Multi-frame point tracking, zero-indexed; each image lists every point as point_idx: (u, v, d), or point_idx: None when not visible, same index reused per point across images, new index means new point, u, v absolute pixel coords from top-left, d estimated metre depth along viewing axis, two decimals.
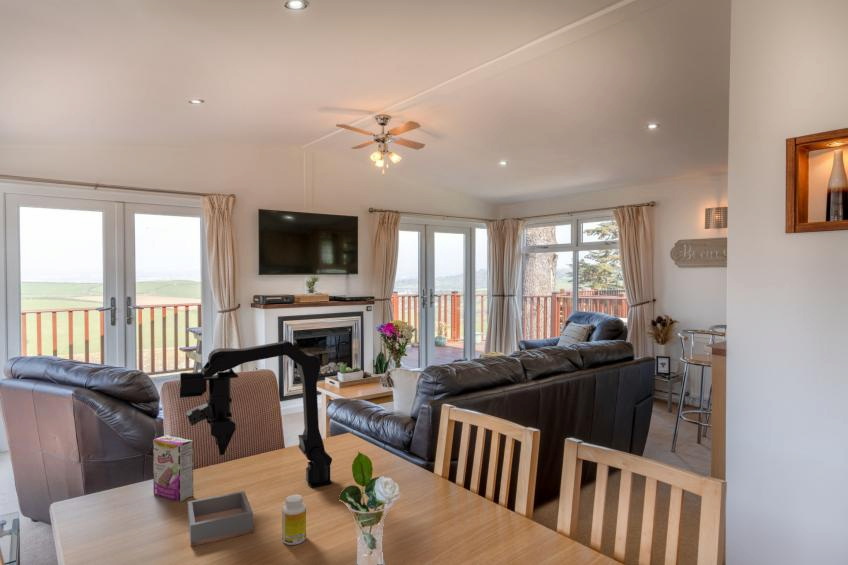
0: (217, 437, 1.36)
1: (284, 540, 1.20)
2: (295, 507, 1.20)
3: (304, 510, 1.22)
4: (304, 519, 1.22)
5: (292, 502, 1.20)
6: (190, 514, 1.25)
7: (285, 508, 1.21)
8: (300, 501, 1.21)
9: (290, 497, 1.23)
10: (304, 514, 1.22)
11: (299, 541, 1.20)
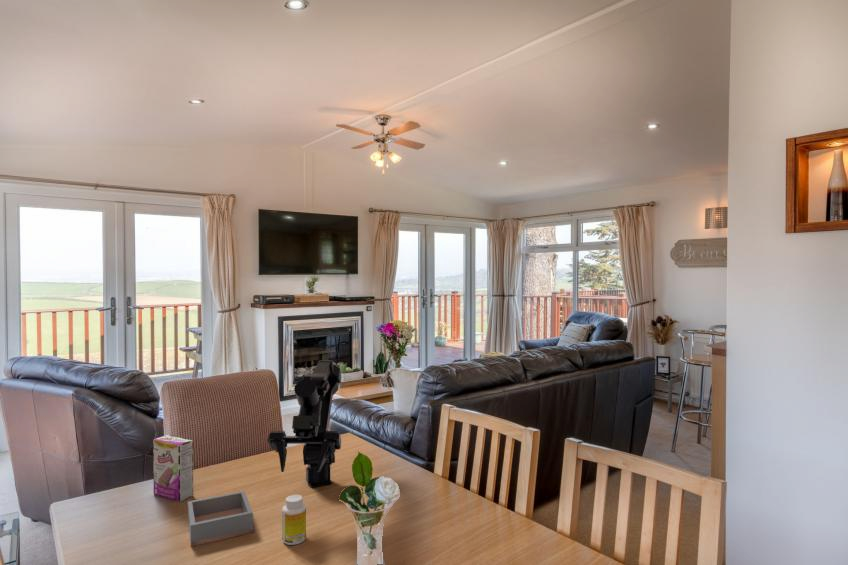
0: (327, 448, 1.33)
1: (284, 540, 1.20)
2: (295, 507, 1.20)
3: (304, 510, 1.22)
4: (304, 519, 1.22)
5: (292, 502, 1.20)
6: (190, 514, 1.25)
7: (285, 508, 1.21)
8: (300, 501, 1.21)
9: (290, 497, 1.23)
10: (304, 514, 1.22)
11: (299, 541, 1.20)
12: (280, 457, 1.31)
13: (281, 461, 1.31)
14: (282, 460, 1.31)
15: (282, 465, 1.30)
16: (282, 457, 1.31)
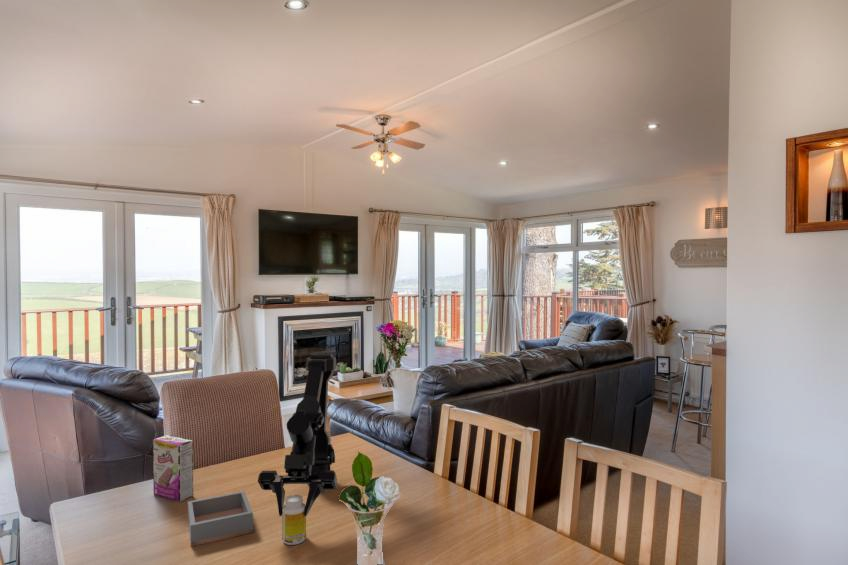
0: (315, 490, 1.24)
1: (284, 540, 1.20)
2: (295, 507, 1.20)
3: (304, 510, 1.22)
4: (304, 519, 1.22)
5: (292, 502, 1.20)
6: (190, 514, 1.25)
7: (285, 508, 1.21)
8: (300, 501, 1.21)
9: (290, 497, 1.23)
10: None
11: (299, 541, 1.20)
12: (278, 500, 1.22)
13: (279, 504, 1.22)
14: (280, 503, 1.22)
15: (280, 509, 1.21)
16: (280, 500, 1.22)
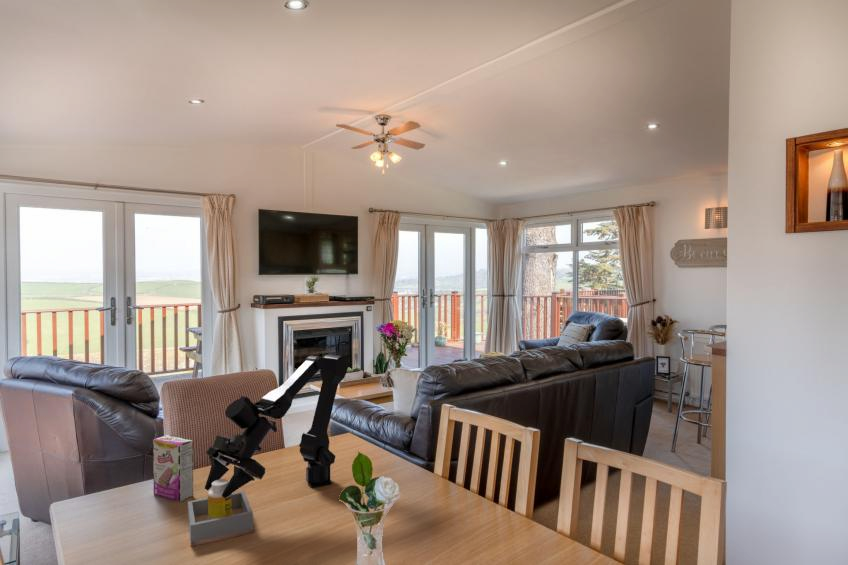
0: (238, 475, 1.26)
1: None
2: (215, 491, 1.27)
3: None
4: (223, 505, 1.27)
5: (213, 485, 1.27)
6: (190, 514, 1.25)
7: (211, 489, 1.29)
8: (220, 486, 1.27)
9: (219, 480, 1.30)
10: (223, 500, 1.27)
11: None
12: (209, 474, 1.31)
13: (208, 478, 1.30)
14: (209, 478, 1.30)
15: (207, 483, 1.30)
16: (210, 475, 1.31)
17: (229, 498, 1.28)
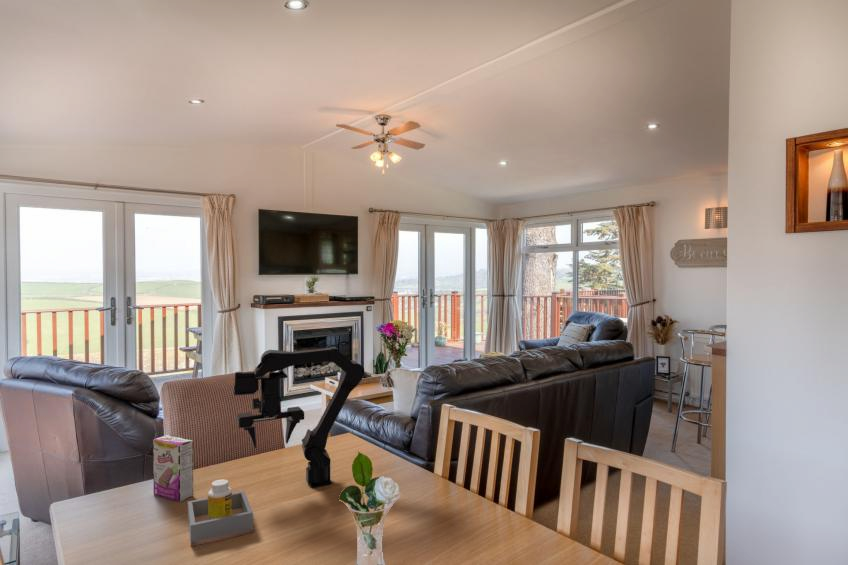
0: None
1: None
2: (215, 491, 1.27)
3: (223, 496, 1.27)
4: (223, 505, 1.27)
5: (213, 485, 1.27)
6: (190, 514, 1.25)
7: (211, 489, 1.29)
8: (220, 486, 1.27)
9: (219, 480, 1.30)
10: (223, 500, 1.27)
11: None
12: None
13: None
14: None
15: None
16: None
17: (229, 498, 1.28)
